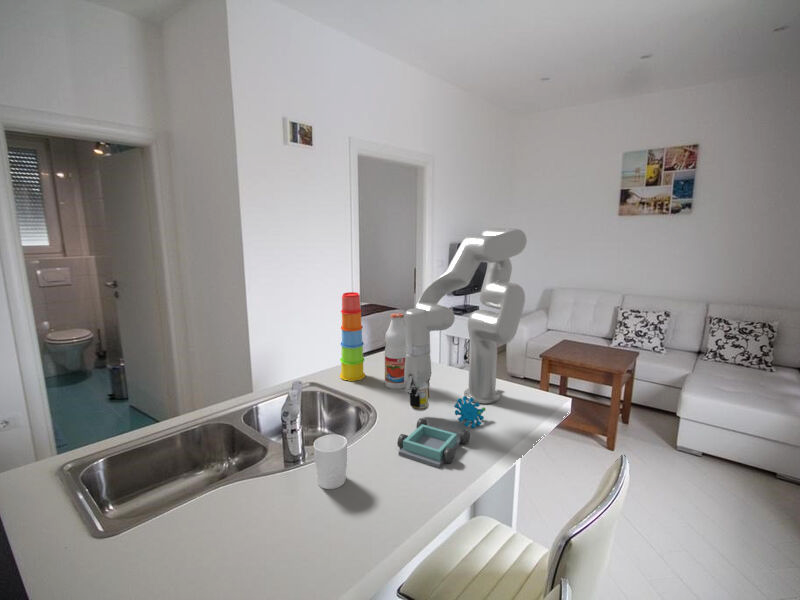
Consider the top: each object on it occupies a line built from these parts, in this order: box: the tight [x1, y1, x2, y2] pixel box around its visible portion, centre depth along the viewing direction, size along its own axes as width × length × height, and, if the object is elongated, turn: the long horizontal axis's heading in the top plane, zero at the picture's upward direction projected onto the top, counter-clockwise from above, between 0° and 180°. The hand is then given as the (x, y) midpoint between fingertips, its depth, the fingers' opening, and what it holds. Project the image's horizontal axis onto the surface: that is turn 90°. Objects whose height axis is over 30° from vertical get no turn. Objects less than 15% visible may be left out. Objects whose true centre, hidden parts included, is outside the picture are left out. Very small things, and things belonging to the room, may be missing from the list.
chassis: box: [396, 418, 471, 469], centre depth 115 cm, size 18×15×4 cm
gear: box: [454, 395, 487, 429], centre depth 129 cm, size 11×6×10 cm
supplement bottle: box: [411, 382, 430, 412], centre depth 130 cm, size 6×6×10 cm
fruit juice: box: [384, 312, 407, 390], centre depth 156 cm, size 9×9×28 cm
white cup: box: [313, 434, 348, 490], centre depth 98 cm, size 8×8×10 cm
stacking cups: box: [339, 291, 366, 382], centre depth 164 cm, size 10×10×35 cm
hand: (419, 401), depth 131 cm, fingers closed on supplement bottle, 5 cm apart
